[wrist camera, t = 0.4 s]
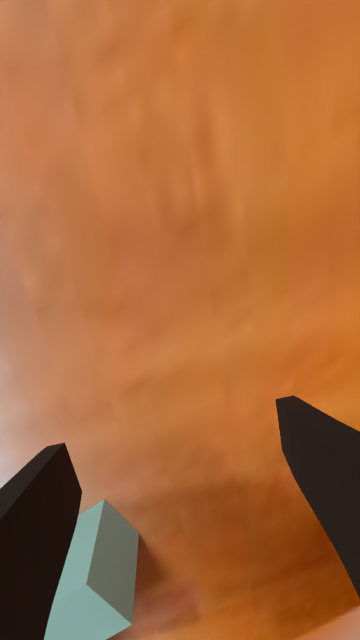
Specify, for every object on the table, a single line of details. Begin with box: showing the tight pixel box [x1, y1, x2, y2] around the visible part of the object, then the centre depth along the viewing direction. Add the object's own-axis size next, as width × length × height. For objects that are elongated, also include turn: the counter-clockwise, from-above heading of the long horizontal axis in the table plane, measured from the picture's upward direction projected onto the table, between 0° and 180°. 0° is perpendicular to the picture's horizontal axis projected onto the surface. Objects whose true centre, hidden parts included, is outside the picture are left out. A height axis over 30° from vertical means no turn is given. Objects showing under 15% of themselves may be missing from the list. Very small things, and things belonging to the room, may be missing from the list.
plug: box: [44, 499, 139, 640], centre depth 21 cm, size 4×10×6 cm, turn 125°
